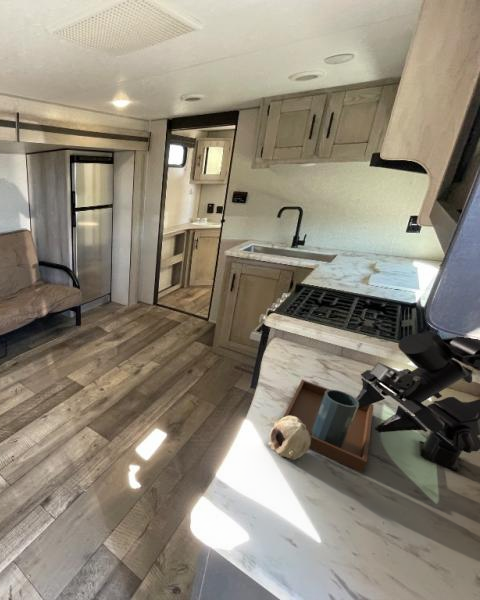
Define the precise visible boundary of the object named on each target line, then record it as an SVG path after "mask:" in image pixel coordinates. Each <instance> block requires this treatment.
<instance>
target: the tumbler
mask: <svg viewBox="0 0 480 600" xmlns="http://www.w3.org/2000/svg"><path fill="white" fill-rule="evenodd" d="M356 398H357V397H354V396H353V395H351V394H349V393H347V392H345V391H342V390H338V389H330V390H327V391H325V393H324V396H323V399H322V402H321V404H320V407H319V410H318V413H317V416H316V419H315V421H314V424H313V427H312V430H311V435H312V436H314V437H316V438H318V439H321V440H323V441H325V442H327V443H330V444H332V445H334V446H337V447H339V448H342V445H343V444H344V441H345V439H346V436H347V434H348V431H349V429H350V426H351V424H352V421H353V419H354V417H355V414H356V412H357V409H358V407H359V402H358V401H357V399H356Z"/></svg>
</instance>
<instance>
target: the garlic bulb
mask: <svg viewBox="0 0 480 600" xmlns="http://www.w3.org/2000/svg"><path fill="white" fill-rule="evenodd" d="M310 444H311V437H310V434H309V432H308V431H307V429H306V426H305V425H304V424H303V423H302V421H301V420H300V419H299V418H297V417H295V416H286V417H284V416H283V417H282V418H280V419H279V420H277V421H276V422H275V423H274V426H273V427H272V428H271V430H270V433H269V442H268V445H269V447H270V448H271V450H273V451H274V452H275V453H276V454H277V455H278V456H280V457H285V458H287V459H290V460H298V459H300V458H301V457H303V456H304V455H305V454H306V453H307V452H308V451H309V449H310V448H309V447H310Z"/></svg>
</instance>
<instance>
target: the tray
mask: <svg viewBox="0 0 480 600" xmlns="http://www.w3.org/2000/svg"><path fill="white" fill-rule="evenodd" d="M300 380H301V381H300V383H299V384H298V386H297V388H296V390H295V392H294V395H293V397H292V399H291V400H290V403H289V405H288V407H287V409H286V411H285V413H284V415H283V417H286V416H295V417H297V418H299V419H300V420H301V421H302V423H303V424H304V425H305V426H306V429H307V431H308V432H309V434H310V437H311V444H310V447H309V449H310V450H313V451H315V452H317V453H318V454H321V455H323V456H326V457H327V458H330V459H332V460H334V461H336V462H338V463H340V464H343V465H345V466H347V467H349V468H351V469H354V470H356V471H357V472H360V473H364V470H365V468H366V466H367V464H368V458H369V451H370V440H371V432H372V431H371V430H372V422H373V414H374V406H375V405H374V404H370V405H368V406H365V407H362V408H359V409H357V412H356V414H355V417H354V419H353V421H352V424H351V426H350V429H349V431H348V434H347V436H346V439H345V441H344V444H343V445H342V448H339V447H337V446H334V445H332V444H330V443H327V442H325V441H323V440H321V439H318V438H316V437H314V436H312V435H311V430H312V427H313V424H314V421H315V419H316V416H317V413H318V410H319V407H320V404H321V402H322V399H323V396H324V393H325V391H327V390H331V389H330V388H327V387H324V386H321V385H319V384H316V383H313V382H311V381H307V380H305V379H300Z"/></svg>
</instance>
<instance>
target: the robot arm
mask: <svg viewBox="0 0 480 600" xmlns="http://www.w3.org/2000/svg"><path fill="white" fill-rule="evenodd" d="M397 345H398V349H399V350H400V351H401V352H402V354H404V356H406V357H407V358H408V360H409V361H410V362H411V363H412V364H413V365H414V366H415V367H416V368H415V369H413V370H410V369H408V368H404V369H401V370H397V369H395V368H392V367H390V366H388V365H386V364H384V363H382V362H377V363H376V364H375V365H374V366H373V368H372V369H367V370H365V371H363V372H362V373H360V376H361V378H360V380H361V382H362V388H361V390H360V392H359V394H358V395H357V396H356V397H355V398H356V399H357V401H358V402H359V407H358V409H359V408H362V407H365V406H368V405H370V404H372V405H374V404H375V403H378V402H381V401H384V400H386V398H385V397H388V396H389V397H391V398H392V400H394V401H396V402H397V403H399V404H400V405H397V408H396V411H395V414H393V415H391V416H390V417H389V418H387V419H385V420H384V421H382V422H381V423H379V425H377V426H376V427H375V428H374V430H375V431H376V432H377V433H380V434H381V433H391V432H405V431H423V432H424V433H427V432H428V431H430V432H429V434H428V435H427V437H426V439H425V441H421V440H419V441H418V450H419V456H420V457H421V458H423V459H426V460H428V461H431V462H433V463H436V464H437V465H440V466H443V467H446V468H448V469H451V470H453V471H456V472H459V471H460V466H459V461H458V459H459V458H460V456H461V454H462V452H465V453H467V454H471V453H472V452H478V451H479V450H480V438H479V436H480V398H478V399H475V400H472V401H471V400H470V401H461V400H459V399H458V398H457V397H455V396H448V397H445V398H443V399H440V398H442V397H443V395H442V394H441V392H442V391H443V390H445V389H447V388H448V387H450V386H452V385H454V384H455V383H457V382H459V381H460V380H462V381H464V382H466V383H468V384H470V383H472V382H473V373H474V371H473V370H472V369H475V370H477V371H480V340H478V339H471V338H464V337H458V335H456V336H454V337H453V336H452V337H447V338H442V336H441V335H439V334H438V333H436V332H435V331H432V330H427V331H426V332H425V333H421V332H418V333H411V334H409V335H405V336H404V337H401V339H400V340H399V341H398V344H397ZM462 364H463V365H462ZM464 365H465V366H464ZM466 366H468V367H471V368H472V369H470V368H468V367H466ZM432 397H434V398H436V399H439V400H432V403H430V404H427V405H425V404H423V402H425V401H427V400H428V399H430V398H432ZM403 407H404V408H403Z"/></svg>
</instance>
